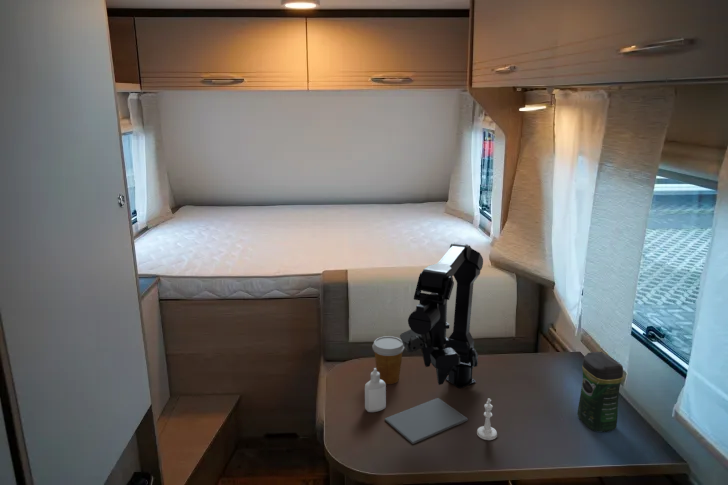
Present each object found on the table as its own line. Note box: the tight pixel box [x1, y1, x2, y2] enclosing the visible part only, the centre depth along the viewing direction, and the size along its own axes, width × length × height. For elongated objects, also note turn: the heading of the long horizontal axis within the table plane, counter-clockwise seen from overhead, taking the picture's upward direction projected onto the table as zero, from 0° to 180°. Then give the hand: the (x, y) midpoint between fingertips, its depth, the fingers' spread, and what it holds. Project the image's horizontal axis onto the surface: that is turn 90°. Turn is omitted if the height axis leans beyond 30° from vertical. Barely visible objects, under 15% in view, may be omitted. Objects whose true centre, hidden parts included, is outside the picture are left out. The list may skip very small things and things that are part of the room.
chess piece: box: [476, 398, 498, 441], centre depth 135 cm, size 5×5×10 cm
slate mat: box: [384, 397, 468, 445], centre depth 142 cm, size 18×12×1 cm, turn 122°
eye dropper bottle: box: [364, 367, 387, 413], centre depth 146 cm, size 4×6×12 cm
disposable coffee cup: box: [371, 335, 406, 385], centre depth 161 cm, size 10×10×12 cm
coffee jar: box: [576, 351, 624, 433], centre depth 138 cm, size 10×8×19 cm
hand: (433, 375), depth 137 cm, fingers open, 9 cm apart
